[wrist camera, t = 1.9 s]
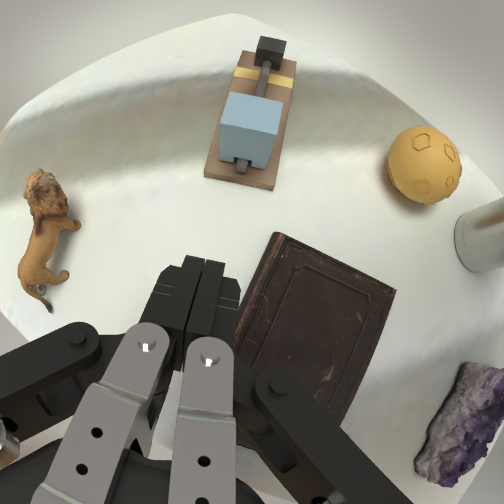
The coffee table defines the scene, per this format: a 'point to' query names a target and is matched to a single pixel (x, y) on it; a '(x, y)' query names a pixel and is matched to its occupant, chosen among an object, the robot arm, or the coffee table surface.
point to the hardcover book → (311, 322)
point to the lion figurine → (44, 233)
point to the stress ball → (424, 165)
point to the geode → (463, 425)
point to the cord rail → (265, 86)
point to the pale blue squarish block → (249, 128)
